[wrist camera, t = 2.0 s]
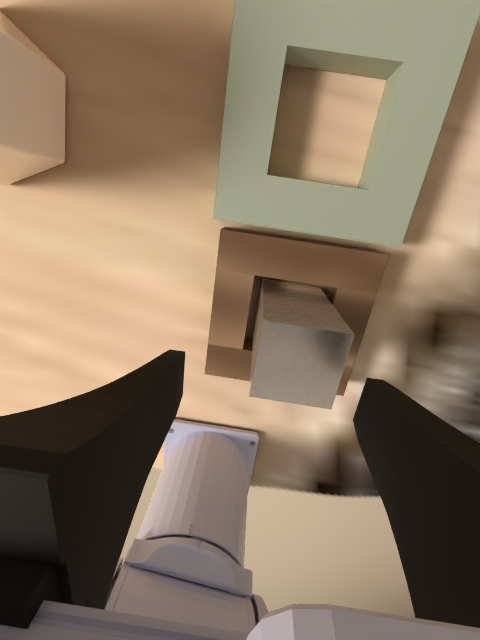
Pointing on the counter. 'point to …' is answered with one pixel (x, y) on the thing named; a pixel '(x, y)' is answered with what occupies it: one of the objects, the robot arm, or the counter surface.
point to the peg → (298, 345)
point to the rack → (350, 58)
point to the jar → (28, 107)
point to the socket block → (294, 265)
